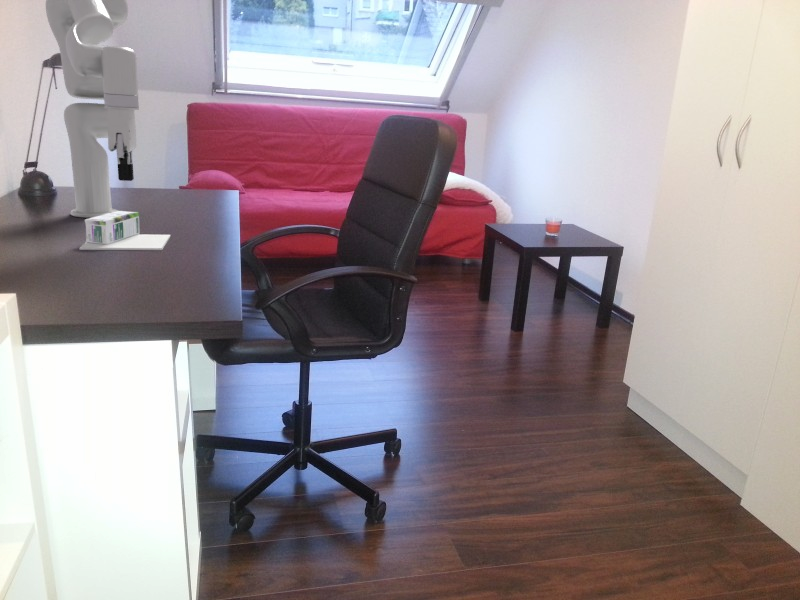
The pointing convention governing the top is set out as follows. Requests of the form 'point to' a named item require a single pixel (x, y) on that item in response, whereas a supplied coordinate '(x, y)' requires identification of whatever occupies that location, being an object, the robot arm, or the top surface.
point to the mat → (131, 243)
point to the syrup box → (111, 227)
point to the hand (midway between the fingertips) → (126, 179)
